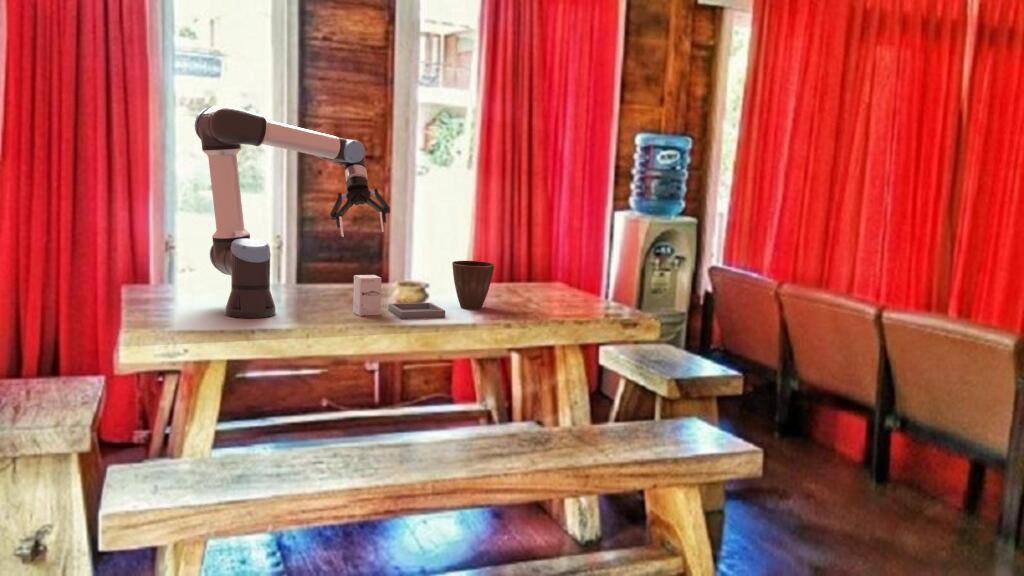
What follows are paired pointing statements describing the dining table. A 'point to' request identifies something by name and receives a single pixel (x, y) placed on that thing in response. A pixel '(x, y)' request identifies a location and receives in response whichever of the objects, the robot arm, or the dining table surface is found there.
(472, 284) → the plant pot
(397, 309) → the tray
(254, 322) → the dining table surface
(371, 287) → the supplement box
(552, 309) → the dining table surface
